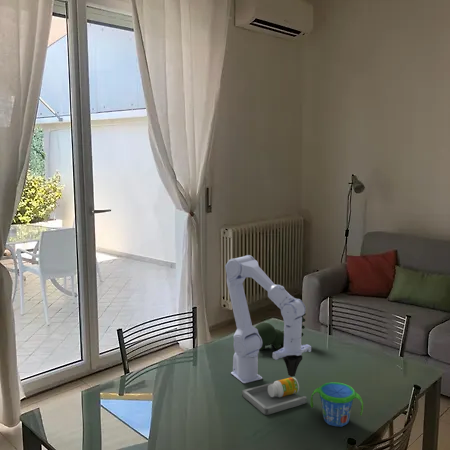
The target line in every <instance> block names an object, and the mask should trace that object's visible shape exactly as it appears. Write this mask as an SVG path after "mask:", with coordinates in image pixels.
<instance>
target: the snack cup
mask: <svg viewBox="0 0 450 450" xmlns="http://www.w3.org/2000/svg"><path fill="white" fill-rule="evenodd" d="M316 393H318V394H319V397H320V401H321V408H322V417H323V421H324V422H325V423H327V425H328V426H331V427H340V428H342V427H343V426H346V425H347V424H349V422H350V417H351V412H352V407H353V401H354V399H357V400H358V401H359V403H360V412H359V414H360V416H362V415H363V411H364V401H363V399H362V397H361V395H360V394H359V393H357V392H356V391H355V389H354V388H353V387H352V386H351V385H350V384H349V385H348V384H345V383H342V382H338V381H337V382H335V381H334V382H333V381H332V382H326V383H323V384H322V385H320V387H316V388H315V389H314V390H313V392H312V394H311V396H310V401H309V402H310V408H313V407H314V399H313V397H314V395H315V394H316Z"/></svg>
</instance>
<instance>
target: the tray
mask: <svg viewBox="0 0 450 450" xmlns="http://www.w3.org/2000/svg"><path fill="white" fill-rule="evenodd" d="M274 382H275V381H273V382H268V383H265V384H262V385H258V386H253V387H249V388H246V389H243V390H241V397H242V398H243V399H244V400H246V401H247V402H249V403H250V404H251V405H252V406H253V407H254V408H255V409H257V410H258V411H260V412H261V413H262V414H263V415H264V416H269V415H271V414H275V413H279V412H281V411H285V410H288V409H291V408H294V407H299V406H302V405H304V404H307V398H308V397H307V396H304V395H303V396H299V395H297V393H295V394H292V395H288V396H284V397H280V398H279V397H277V396H275V397H270V395H269V394H268V385H271V384H273V383H274Z"/></svg>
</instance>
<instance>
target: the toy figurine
mask: <svg viewBox="0 0 450 450" xmlns="http://www.w3.org/2000/svg"><path fill="white" fill-rule="evenodd" d="M306 315H307V313H306V312H305V314H304V315H303V316H301V317H302V330H304V329H305V325H304V324H303V323H304V322H306V318H304V317H305V316H306ZM254 327H255V328H256V329H257V330H258V333H259V335H260V337H261V339H262V347H261V348H260V349H259V351H263V350H264V349H265V348H266V347H267V346H270V345H271V346H273V348H274V349H275V350H280V349H281V347H284V330H280V329H278V328H275V327H274V326H273V325H272V324H271V323H270V322H269V323H268V322H265V321H264V322H260V323H258V324H257V325H256V326H254ZM303 336H304V333H303V332H302V333H301V338H302V337H303Z"/></svg>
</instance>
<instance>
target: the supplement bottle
mask: <svg viewBox="0 0 450 450" xmlns="http://www.w3.org/2000/svg"><path fill="white" fill-rule="evenodd" d="M273 382H274V383H273V384H271V385H268V394H269V395H270V397H275V396H277V397H279V398H280V397H284V396H288V395H292V394H297V393H299V391H300V384H299V382H298V379H297V378H296V377H295V376H293V377H291V376H290V377H287V378H283V379H278V380H275V381H273Z"/></svg>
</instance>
